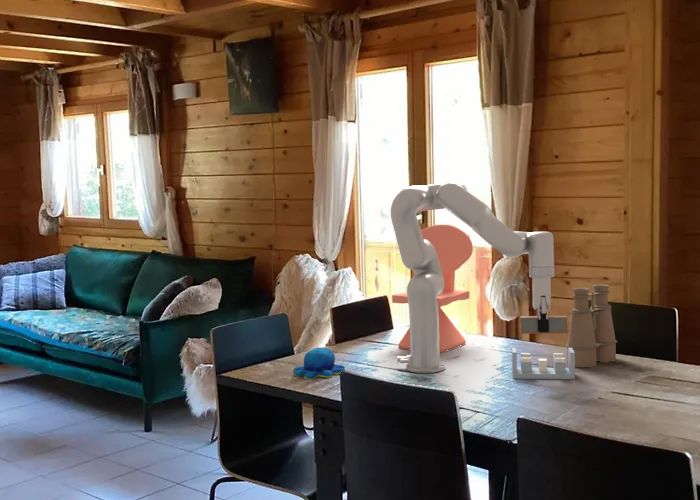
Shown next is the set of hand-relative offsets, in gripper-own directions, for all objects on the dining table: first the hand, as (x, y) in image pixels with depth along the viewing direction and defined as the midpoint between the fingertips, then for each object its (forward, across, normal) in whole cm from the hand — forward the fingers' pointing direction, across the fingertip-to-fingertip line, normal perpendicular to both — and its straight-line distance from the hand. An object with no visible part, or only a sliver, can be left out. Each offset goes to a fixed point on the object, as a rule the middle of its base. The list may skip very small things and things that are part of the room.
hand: (543, 330), depth 233 cm
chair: (+14, -43, -37) cm, 59 cm away
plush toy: (+14, -1, -72) cm, 73 cm away
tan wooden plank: (+1, 0, 0) cm, 1 cm away
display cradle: (+14, 0, 0) cm, 14 cm away
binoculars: (+15, -19, +17) cm, 29 cm away
